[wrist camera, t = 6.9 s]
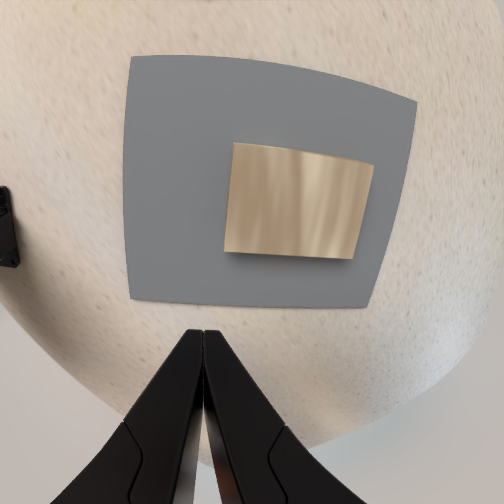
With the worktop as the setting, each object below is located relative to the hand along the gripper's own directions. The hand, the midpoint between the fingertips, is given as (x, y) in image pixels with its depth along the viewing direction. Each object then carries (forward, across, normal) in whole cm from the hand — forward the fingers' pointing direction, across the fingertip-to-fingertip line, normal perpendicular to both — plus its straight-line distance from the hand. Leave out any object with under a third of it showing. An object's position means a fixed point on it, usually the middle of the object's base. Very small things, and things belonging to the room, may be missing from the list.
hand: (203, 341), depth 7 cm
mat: (+12, -4, -1) cm, 12 cm away
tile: (+10, -1, -1) cm, 10 cm away
